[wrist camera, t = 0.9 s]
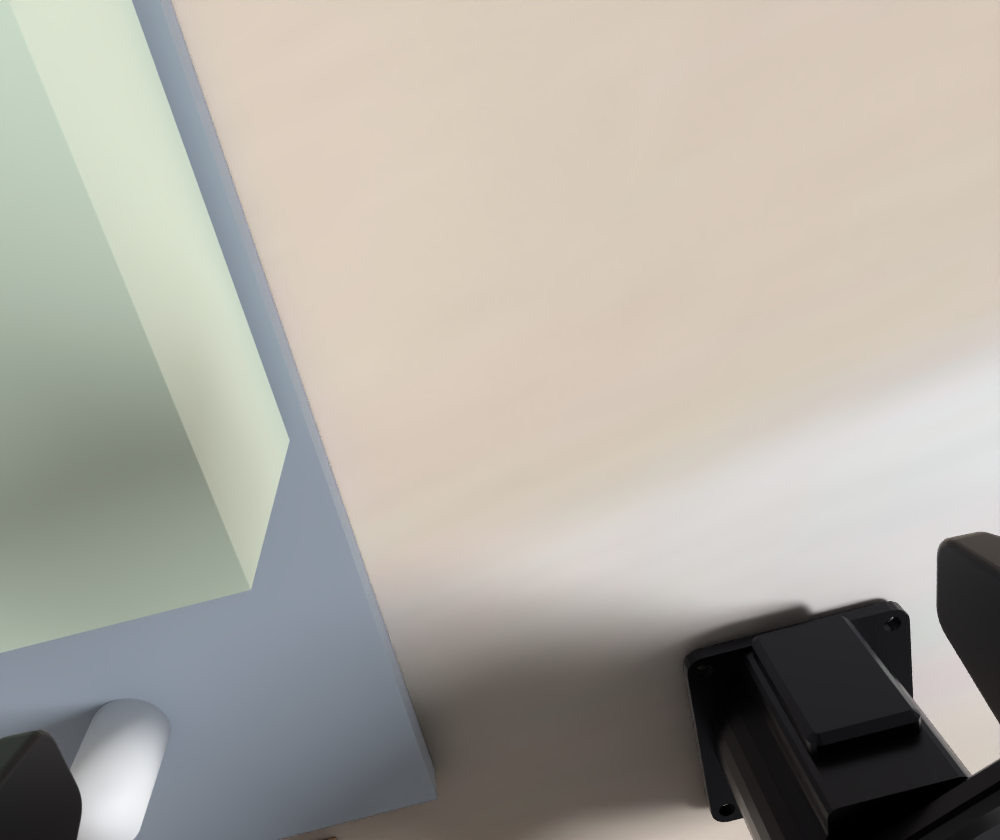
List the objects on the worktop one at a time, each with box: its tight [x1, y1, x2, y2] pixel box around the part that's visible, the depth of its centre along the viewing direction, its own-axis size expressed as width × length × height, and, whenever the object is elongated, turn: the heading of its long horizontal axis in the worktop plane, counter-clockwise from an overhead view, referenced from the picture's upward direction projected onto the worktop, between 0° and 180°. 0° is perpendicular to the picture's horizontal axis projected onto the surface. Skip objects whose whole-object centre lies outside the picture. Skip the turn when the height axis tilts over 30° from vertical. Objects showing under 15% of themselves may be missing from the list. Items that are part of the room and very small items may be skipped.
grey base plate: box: [0, 0, 437, 840], centre depth 20 cm, size 22×14×4 cm, turn 13°
